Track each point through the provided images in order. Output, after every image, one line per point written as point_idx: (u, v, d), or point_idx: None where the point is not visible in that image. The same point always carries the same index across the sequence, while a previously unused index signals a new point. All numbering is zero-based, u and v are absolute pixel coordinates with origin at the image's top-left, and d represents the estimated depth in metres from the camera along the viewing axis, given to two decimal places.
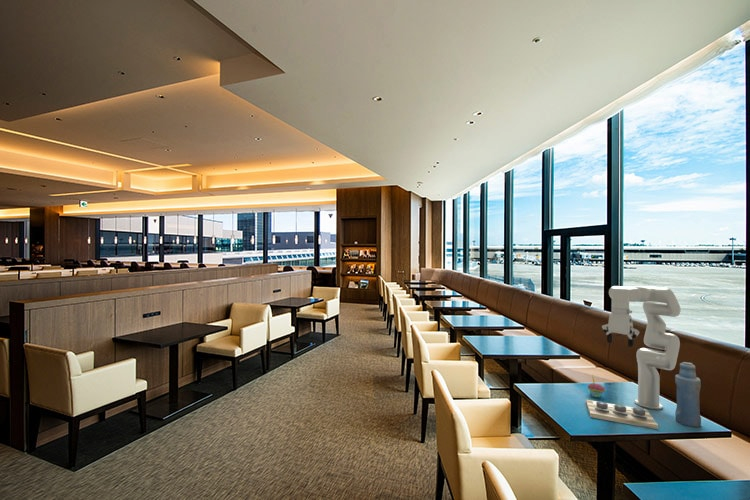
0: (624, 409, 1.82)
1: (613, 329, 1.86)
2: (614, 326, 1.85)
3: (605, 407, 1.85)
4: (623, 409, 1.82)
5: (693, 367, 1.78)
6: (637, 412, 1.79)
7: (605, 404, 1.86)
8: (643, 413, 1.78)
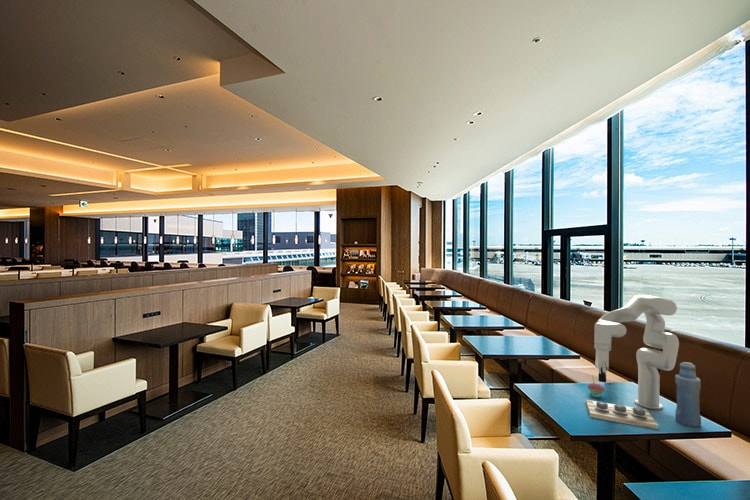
0: (624, 409, 1.82)
1: None
2: None
3: (605, 407, 1.85)
4: (623, 409, 1.82)
5: (693, 367, 1.78)
6: (637, 412, 1.79)
7: (605, 404, 1.86)
8: (643, 413, 1.78)
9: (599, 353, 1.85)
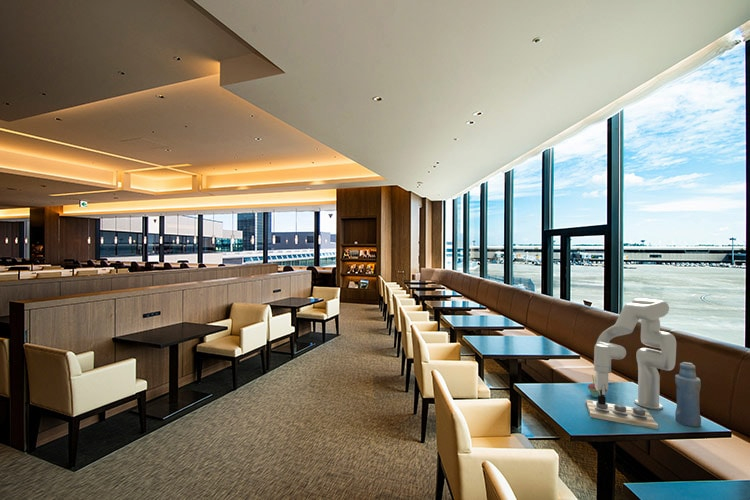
0: (624, 409, 1.82)
1: None
2: None
3: (605, 407, 1.85)
4: (623, 409, 1.82)
5: (693, 367, 1.78)
6: (637, 412, 1.79)
7: (605, 405, 1.86)
8: (643, 413, 1.78)
9: (599, 375, 1.85)
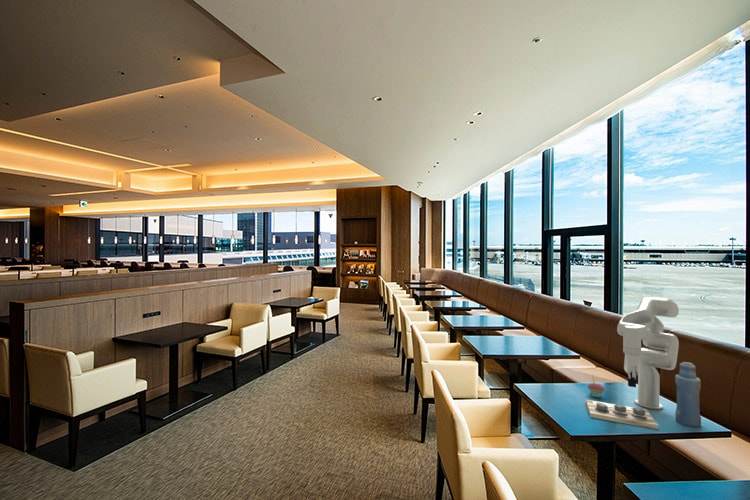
0: (624, 409, 1.82)
1: None
2: None
3: (605, 409, 1.85)
4: (623, 409, 1.82)
5: (693, 367, 1.78)
6: (637, 412, 1.79)
7: (605, 406, 1.85)
8: (643, 413, 1.78)
9: (628, 357, 1.80)
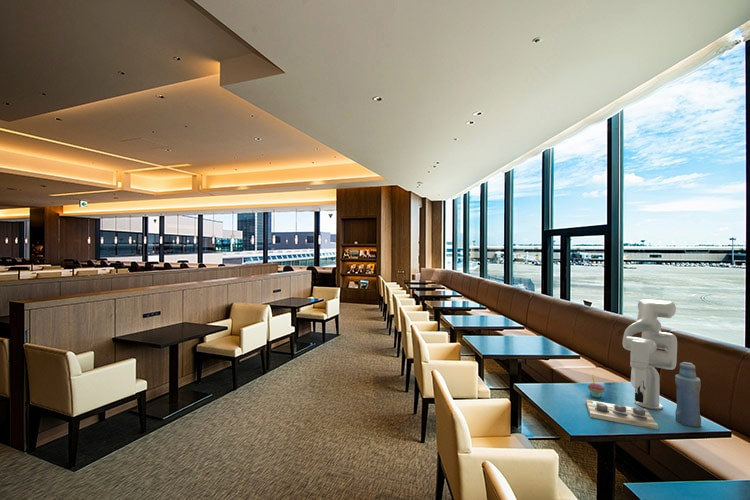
0: (624, 409, 1.82)
1: None
2: None
3: (605, 409, 1.85)
4: (623, 409, 1.82)
5: (693, 367, 1.78)
6: (637, 412, 1.79)
7: (605, 406, 1.85)
8: (643, 413, 1.78)
9: (636, 372, 1.78)
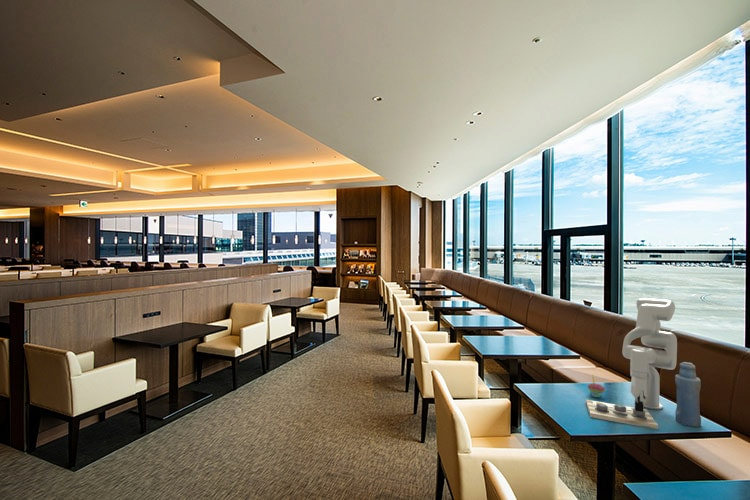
0: (624, 409, 1.82)
1: None
2: None
3: (605, 409, 1.85)
4: (623, 409, 1.82)
5: (693, 367, 1.78)
6: (637, 413, 1.79)
7: (605, 406, 1.85)
8: (643, 414, 1.78)
9: (636, 381, 1.78)
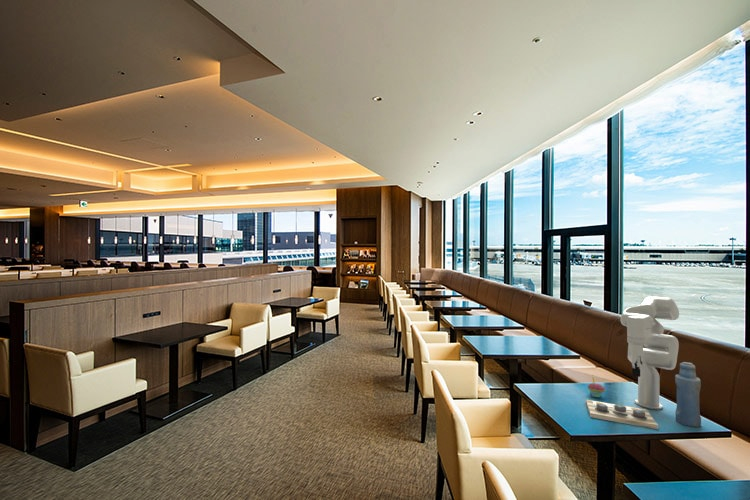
0: (624, 409, 1.82)
1: None
2: None
3: (605, 409, 1.85)
4: (623, 409, 1.82)
5: (693, 367, 1.78)
6: (637, 414, 1.79)
7: (605, 406, 1.85)
8: (643, 415, 1.78)
9: (633, 347, 1.81)
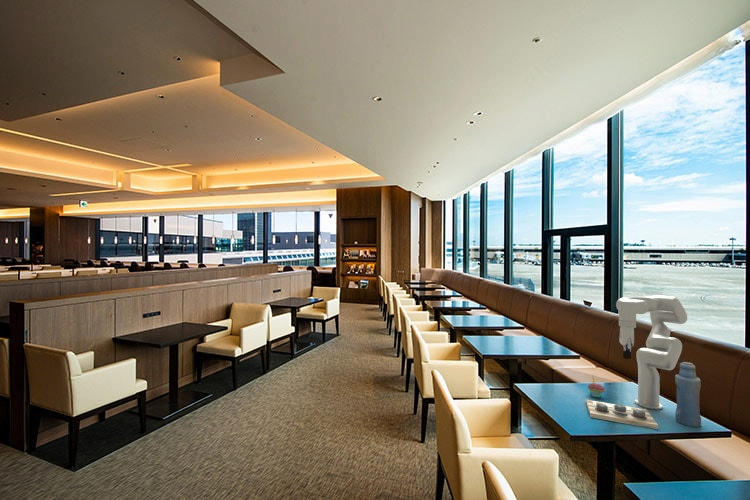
0: (624, 409, 1.82)
1: None
2: None
3: (605, 409, 1.85)
4: (623, 409, 1.82)
5: (693, 367, 1.78)
6: (637, 414, 1.79)
7: (605, 406, 1.85)
8: (643, 415, 1.78)
9: (624, 330, 1.86)
